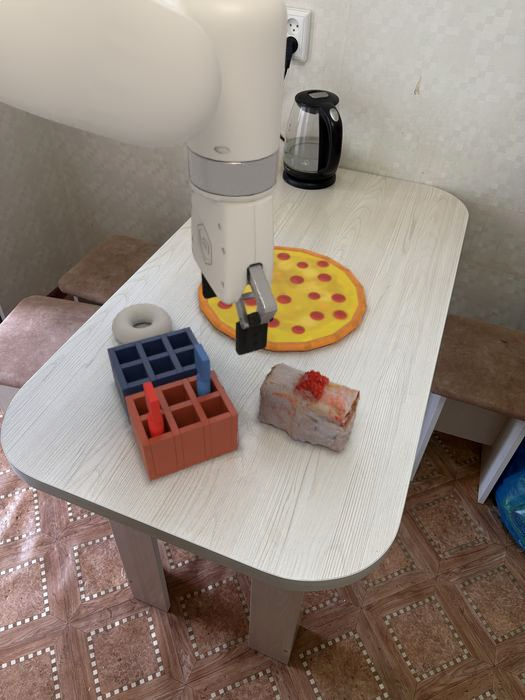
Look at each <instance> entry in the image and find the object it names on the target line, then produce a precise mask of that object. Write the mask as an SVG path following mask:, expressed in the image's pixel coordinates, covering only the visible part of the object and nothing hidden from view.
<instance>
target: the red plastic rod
mask: <svg viewBox="0 0 525 700" xmlns="http://www.w3.org/2000/svg"><path fill="white" fill-rule="evenodd" d="M143 388H144V394H145V399H146V405H147V407H148V410H149V412H148V415H147V419H148V424H149V430H150V435H151V438H153V437H156V436H159V435H162V434H165V431H164V424H163V418H162V413H161V411H160V405H159V399H158V397H157V395H156V392H155V390H154V388H153V385H152V383H151V381H150V382H147V383H143Z"/></svg>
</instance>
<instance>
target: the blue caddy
mask: <svg viewBox="0 0 525 700" xmlns="http://www.w3.org/2000/svg"><path fill="white" fill-rule="evenodd" d="M197 344H200V343H199V341H198V339H197V337H196V335H195V334H194V332H193V330H192V328H191V327H190V326H187V327H184V328H179V329H176V330H171V331H170V332H168V333H164V334H160V335H157V336H153V337H149V338H145V339H142V340H138V341H135V342H130V343H127V344H120V345H119V344H118V345H115V346H113V347H109V348H107V355H108V358H109V363H110V368H111V373H112V376H113V380H114V384H115V388H116V390H117V394H118V395H119V399H120V402H121V404H122V407H123V410H124V412H125V415H126V419H127V421H128V424H129V426H130V427H131V423H130V419H129V414H128V410H127V405H126V401H125V397H126V396H129V395H132V394H136V393H139V392H142V391H144V388H143V383H147V382H150V381H151V383H152V385H153V388H156V387H159V386H162V385H165V384H169V383H172V382H175V381H179V380H182V379H185V378H187V379H188V378H189V377H192V376H196V375H197V373H198V371H197V369H196V367H195V355H194V345H197Z"/></svg>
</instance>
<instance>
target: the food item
mask: <svg viewBox="0 0 525 700" xmlns="http://www.w3.org/2000/svg"><path fill="white" fill-rule="evenodd" d="M259 390H260V391H259V411H258V412H259V413H258V422H261V423H265V424H269V425H273V426H274V427H275V428H279V429H281V430H283V431H286V432H287V434H289V437H290V438H291V439H293V440H294V441H295V442H296V441H299V442H302V443H306V442H308V443H310V444H311V445H320V446H324V447H326V448H328V449H329V450H331V451H334V450H335V451H336V452H337V453H339V452H342V451H343V450H344V447H345V446H346V444H347V441H348V440H349V439H350V437H351V434H352V430H353V427H354V424H355V420H356V417H357V411H358V410H357V409H358V405H359V402H360V400H361V392H360V391H361V390H358V389H355V388H350V387H349V386H346V385H344V384H340V383H338V382H337V383H336V382H334V381H331V380H330V378H329V377H327V376H326V375H323V374H321V372H320V371H317V370H316V371H315V369H310V370H307V371H303V370H302V369H298V368H296V367H293V366H291V365H288V364H286V363H284V362H281V363H277V364H275V365H273V366H272V367H270V371H269V372H268V373H267V374H266V376H265V378H264V380H263V381H262V384H261V385H260V388H259Z"/></svg>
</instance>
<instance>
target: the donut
mask: <svg viewBox="0 0 525 700" xmlns="http://www.w3.org/2000/svg"><path fill="white" fill-rule="evenodd" d="M172 322H173V321H172V319H171V316H170V314H169V313H168V312H167V311H166V310H165V309H164V308H163V307H161V306H158V305H157V304H152V303H136V304H135V303H134V304H132V305H129V306H127V307H124V308H123V309H121V310H120V311H119V312H118V313H116V315H115V317H114V318H113V320H112V325H111V330H112V334H113V336H114V338H115V339H116V340H117V342H119V343H120V344H121V345H123V344H127V343H130V342H135V341H138V340H142V339H145V338H149V337H153V336H157V335H160V334H164V333H168V332H172ZM142 323H149V324H150V325H149V326H146V327H141V328H140V327H134V326H135V325H138V324H142Z"/></svg>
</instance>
